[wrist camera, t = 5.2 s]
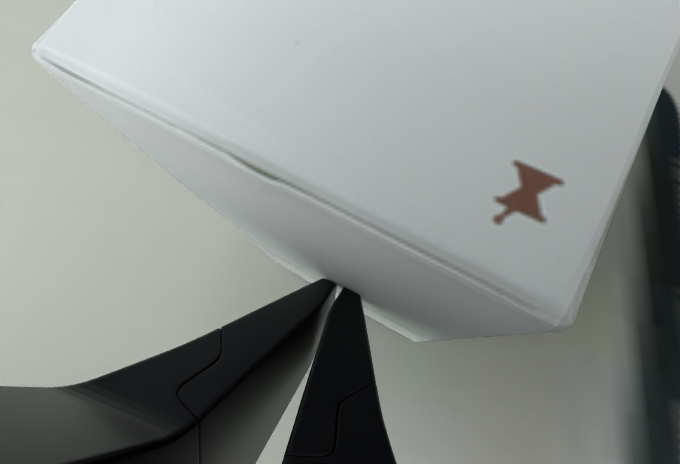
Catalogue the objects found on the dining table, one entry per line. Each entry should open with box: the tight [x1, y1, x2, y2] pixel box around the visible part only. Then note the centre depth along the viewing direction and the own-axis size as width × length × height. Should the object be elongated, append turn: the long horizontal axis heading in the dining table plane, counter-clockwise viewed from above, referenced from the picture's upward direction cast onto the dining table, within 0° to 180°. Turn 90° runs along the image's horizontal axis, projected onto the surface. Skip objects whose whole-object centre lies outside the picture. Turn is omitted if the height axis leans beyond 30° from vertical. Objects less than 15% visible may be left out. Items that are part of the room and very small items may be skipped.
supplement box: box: [31, 0, 680, 342], centre depth 10 cm, size 7×7×13 cm
